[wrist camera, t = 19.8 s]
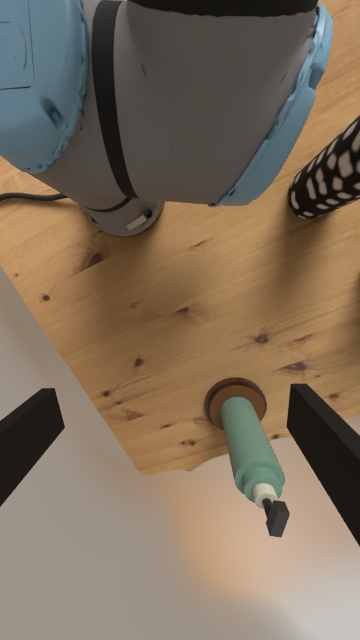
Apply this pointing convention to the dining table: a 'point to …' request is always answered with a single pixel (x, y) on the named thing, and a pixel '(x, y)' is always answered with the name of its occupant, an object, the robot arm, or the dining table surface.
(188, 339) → the dining table surface
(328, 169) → the spotted tube
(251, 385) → the lazy susan base
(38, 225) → the dining table surface
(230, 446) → the soap bottle
